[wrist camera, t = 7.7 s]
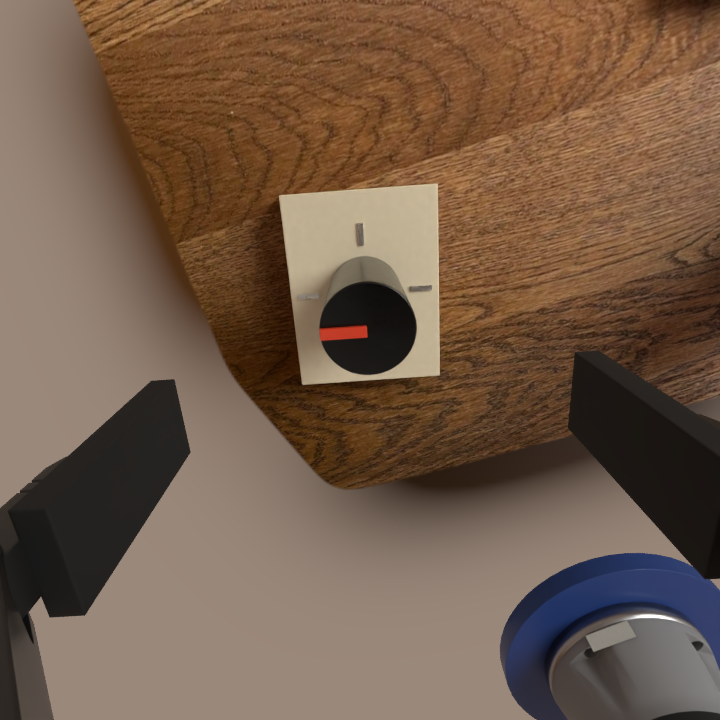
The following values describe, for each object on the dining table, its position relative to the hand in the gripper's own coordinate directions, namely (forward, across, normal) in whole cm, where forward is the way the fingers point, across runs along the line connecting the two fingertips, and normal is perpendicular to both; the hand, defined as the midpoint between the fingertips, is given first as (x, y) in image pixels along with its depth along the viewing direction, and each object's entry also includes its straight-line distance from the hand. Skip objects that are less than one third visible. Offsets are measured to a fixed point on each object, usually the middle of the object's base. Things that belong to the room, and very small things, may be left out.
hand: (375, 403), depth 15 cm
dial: (+17, 0, 0) cm, 17 cm away
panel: (+20, 0, 0) cm, 20 cm away
